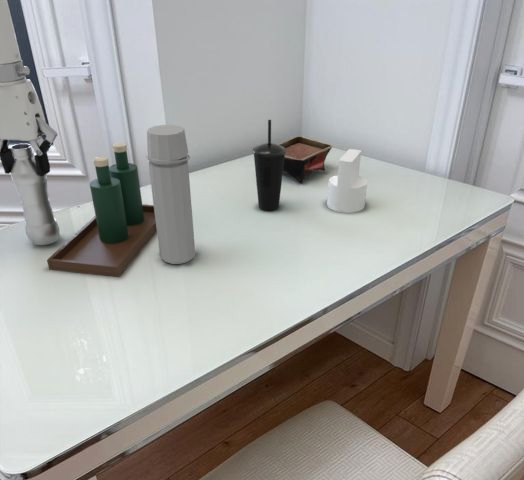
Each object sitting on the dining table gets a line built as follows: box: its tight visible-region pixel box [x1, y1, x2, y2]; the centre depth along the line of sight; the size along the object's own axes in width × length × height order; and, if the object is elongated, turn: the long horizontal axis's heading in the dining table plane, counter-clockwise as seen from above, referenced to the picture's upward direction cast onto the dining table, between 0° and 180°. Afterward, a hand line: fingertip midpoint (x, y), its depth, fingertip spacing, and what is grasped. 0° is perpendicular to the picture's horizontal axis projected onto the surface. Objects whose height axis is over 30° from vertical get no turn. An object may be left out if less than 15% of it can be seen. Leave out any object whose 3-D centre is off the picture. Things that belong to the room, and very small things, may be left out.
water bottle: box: [146, 124, 196, 265], centre depth 105 cm, size 9×8×25 cm
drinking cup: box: [251, 119, 286, 212], centre depth 126 cm, size 8×8×20 cm
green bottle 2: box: [109, 142, 144, 226], centre depth 120 cm, size 6×6×17 cm
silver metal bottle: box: [10, 143, 61, 246], centre depth 111 cm, size 6×7×20 cm
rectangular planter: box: [277, 135, 333, 184], centre depth 149 cm, size 14×18×10 cm
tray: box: [46, 203, 157, 278], centre depth 117 cm, size 15×30×2 cm, turn 168°
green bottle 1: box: [89, 155, 129, 243], centre depth 113 cm, size 6×6×17 cm
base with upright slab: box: [326, 148, 368, 214], centre depth 129 cm, size 9×9×12 cm
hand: (27, 171), depth 108 cm, fingers closed on silver metal bottle, 6 cm apart
